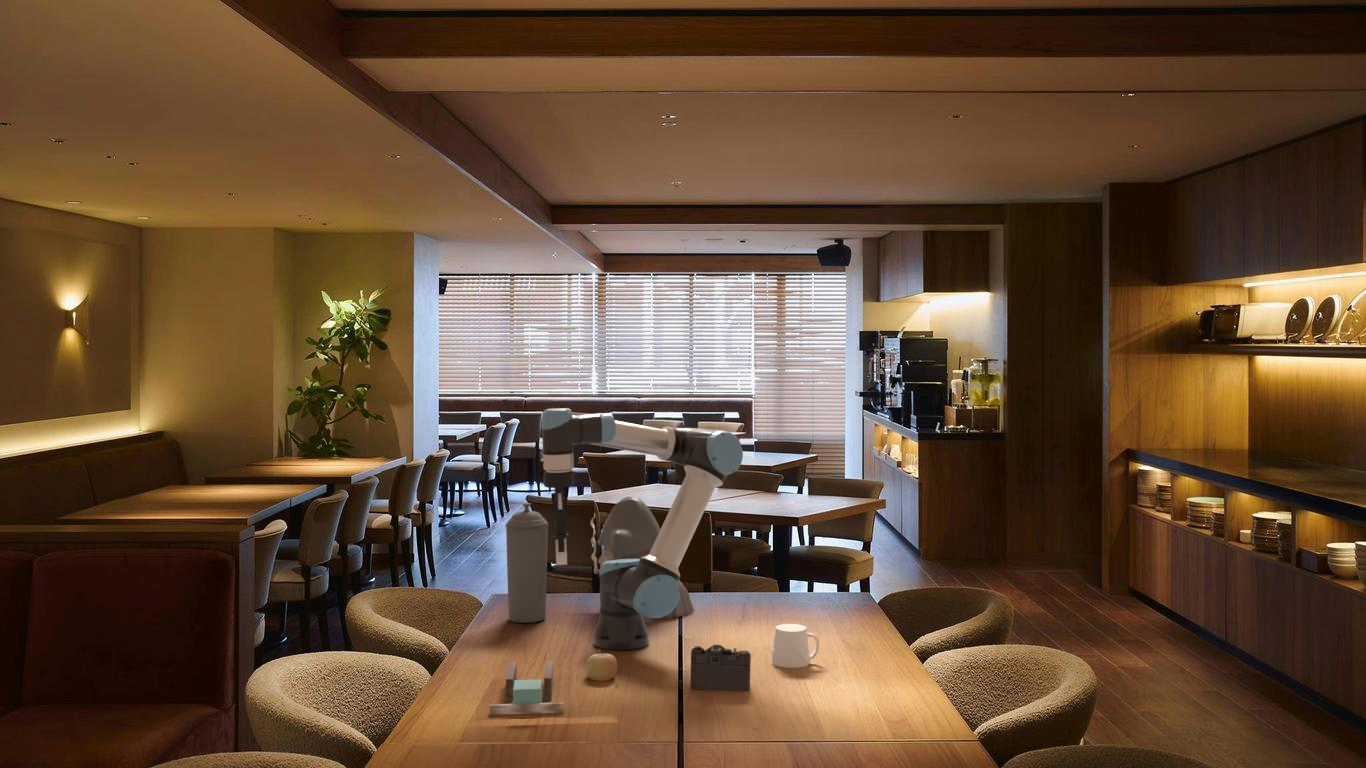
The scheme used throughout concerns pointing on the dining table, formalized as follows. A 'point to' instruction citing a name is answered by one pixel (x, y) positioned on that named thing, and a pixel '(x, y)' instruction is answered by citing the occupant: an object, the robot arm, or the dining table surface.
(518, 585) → the canister
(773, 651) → the mug
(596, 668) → the fruit
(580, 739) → the dining table surface
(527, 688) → the block
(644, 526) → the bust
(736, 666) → the camera
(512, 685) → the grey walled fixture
